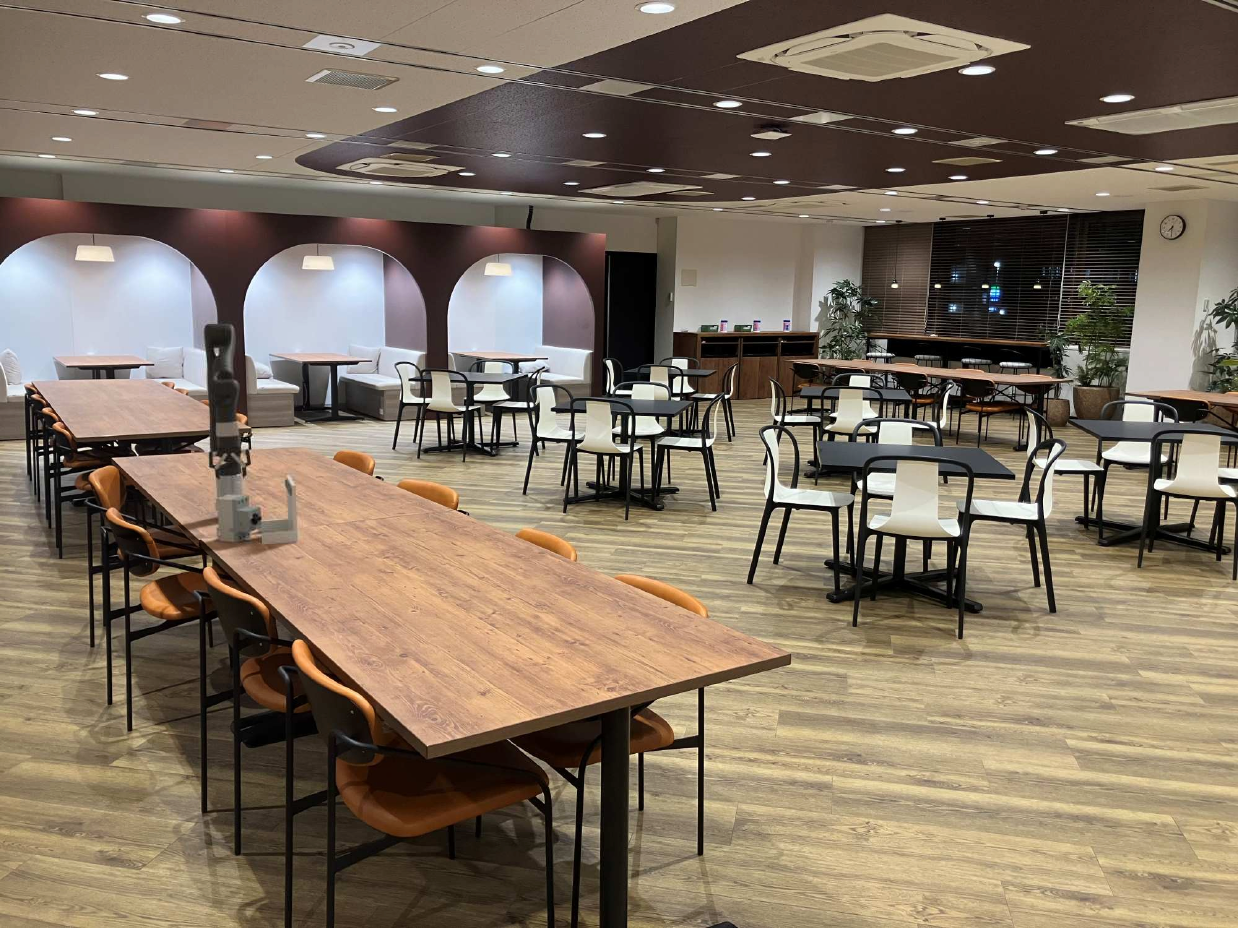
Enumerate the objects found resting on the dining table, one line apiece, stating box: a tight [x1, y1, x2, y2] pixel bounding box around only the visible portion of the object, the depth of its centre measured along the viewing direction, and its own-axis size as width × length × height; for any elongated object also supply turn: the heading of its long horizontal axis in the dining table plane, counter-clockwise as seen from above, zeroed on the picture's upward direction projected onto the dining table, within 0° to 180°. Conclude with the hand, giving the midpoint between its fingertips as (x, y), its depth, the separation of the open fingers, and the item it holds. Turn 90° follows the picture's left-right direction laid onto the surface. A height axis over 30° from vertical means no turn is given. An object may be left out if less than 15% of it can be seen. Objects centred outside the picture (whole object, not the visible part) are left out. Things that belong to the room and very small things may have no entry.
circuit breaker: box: [214, 494, 263, 543], centre depth 343 cm, size 8×14×15 cm, turn 78°
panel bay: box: [257, 475, 299, 545], centre depth 347 cm, size 20×12×20 cm, turn 24°
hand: (231, 478), depth 360 cm, fingers open, 8 cm apart
